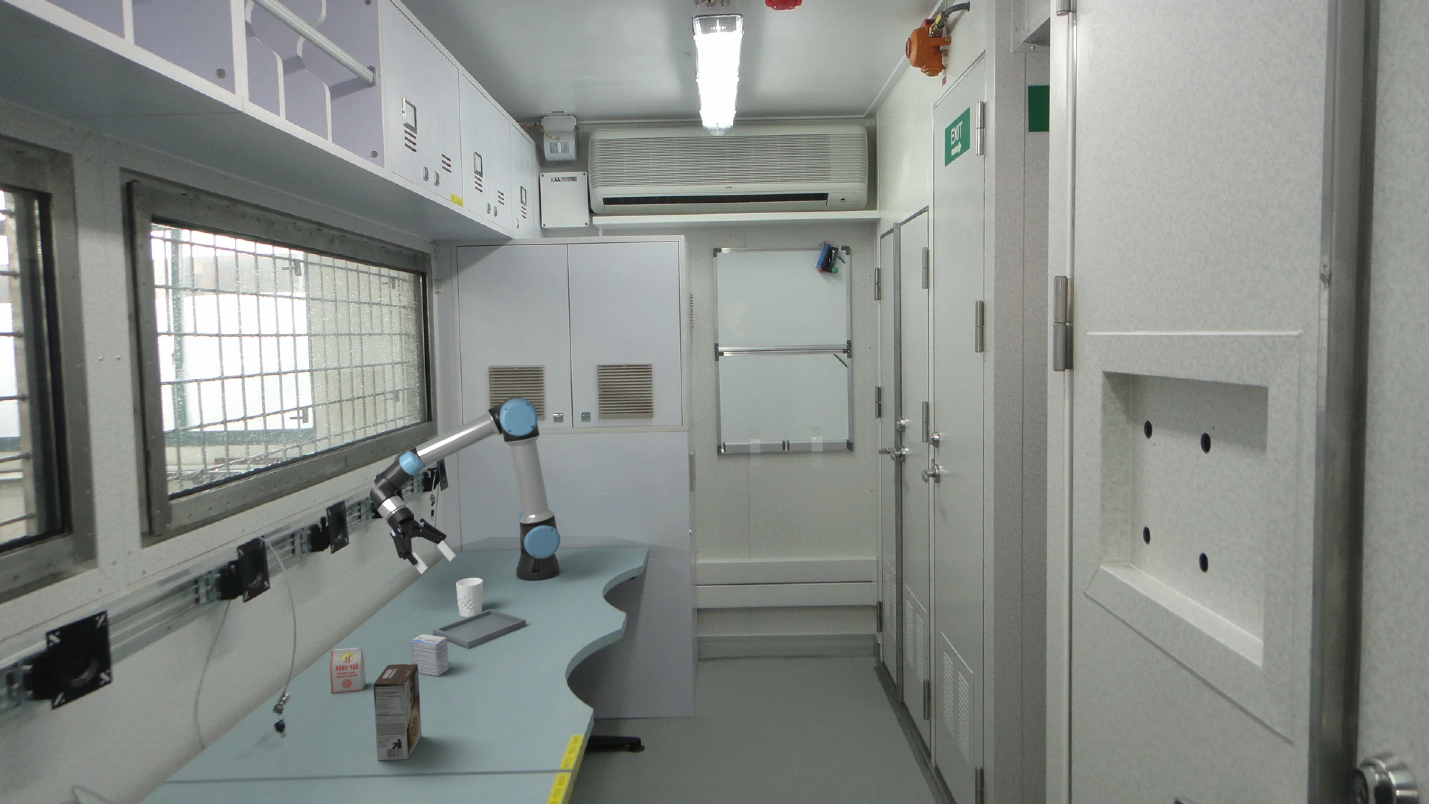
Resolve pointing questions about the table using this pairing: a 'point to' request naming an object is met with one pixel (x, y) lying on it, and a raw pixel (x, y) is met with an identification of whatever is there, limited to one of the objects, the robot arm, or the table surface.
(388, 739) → the coffee box
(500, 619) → the tray
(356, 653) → the white paper packet
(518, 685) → the table surface
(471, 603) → the white cup
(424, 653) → the medicine box
